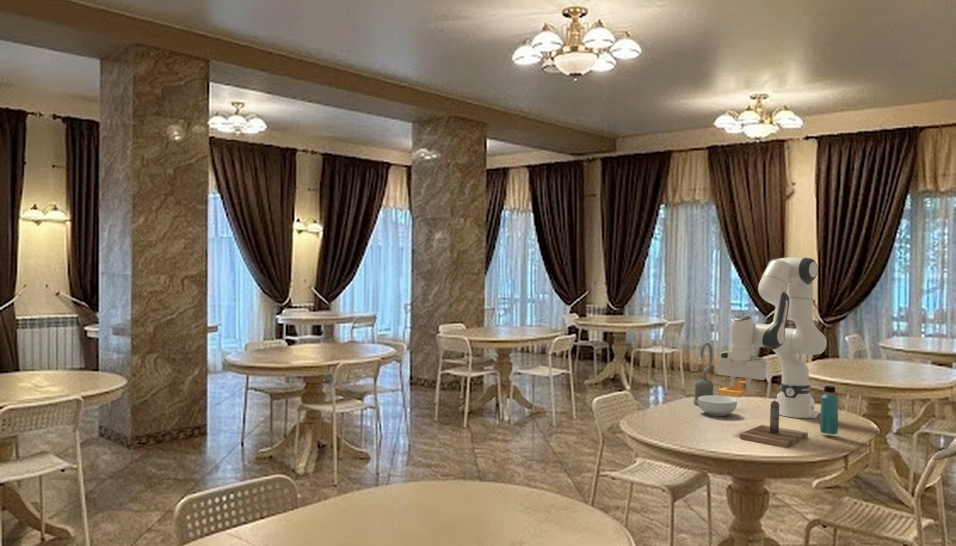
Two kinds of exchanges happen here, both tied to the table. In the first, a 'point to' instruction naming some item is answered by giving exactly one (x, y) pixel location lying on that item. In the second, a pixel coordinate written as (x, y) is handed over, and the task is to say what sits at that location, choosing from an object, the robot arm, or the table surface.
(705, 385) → the hook
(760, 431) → the keeper board
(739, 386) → the loop fitting
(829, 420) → the beverage bottle
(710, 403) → the cereal bowl
